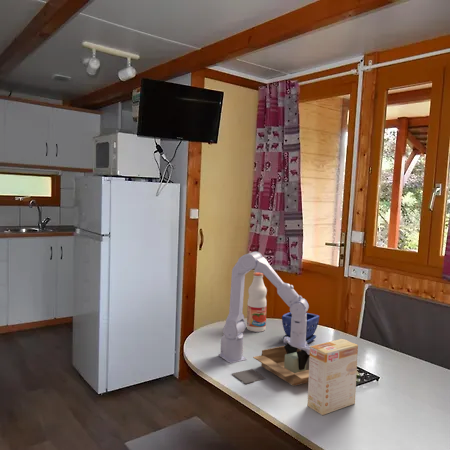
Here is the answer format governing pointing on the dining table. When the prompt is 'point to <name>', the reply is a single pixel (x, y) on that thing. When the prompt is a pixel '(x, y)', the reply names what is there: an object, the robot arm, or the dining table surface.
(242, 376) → the mat
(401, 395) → the dining table surface
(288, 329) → the flower pot
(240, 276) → the robot arm
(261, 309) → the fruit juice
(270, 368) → the wooden tray
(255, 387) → the dining table surface
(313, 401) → the coffeecake box
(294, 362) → the capped block
